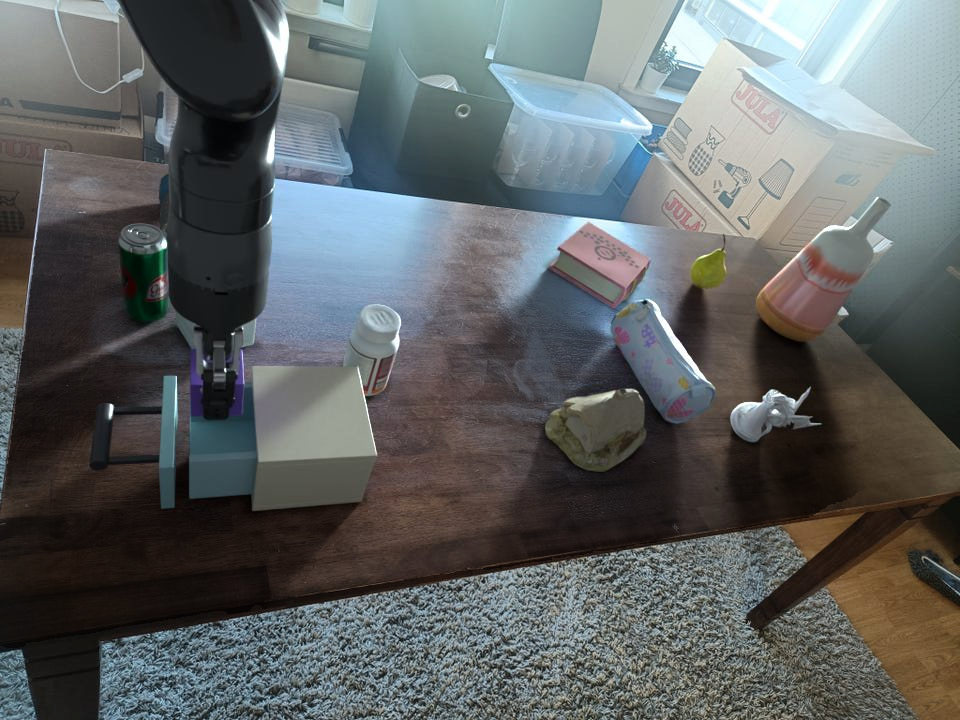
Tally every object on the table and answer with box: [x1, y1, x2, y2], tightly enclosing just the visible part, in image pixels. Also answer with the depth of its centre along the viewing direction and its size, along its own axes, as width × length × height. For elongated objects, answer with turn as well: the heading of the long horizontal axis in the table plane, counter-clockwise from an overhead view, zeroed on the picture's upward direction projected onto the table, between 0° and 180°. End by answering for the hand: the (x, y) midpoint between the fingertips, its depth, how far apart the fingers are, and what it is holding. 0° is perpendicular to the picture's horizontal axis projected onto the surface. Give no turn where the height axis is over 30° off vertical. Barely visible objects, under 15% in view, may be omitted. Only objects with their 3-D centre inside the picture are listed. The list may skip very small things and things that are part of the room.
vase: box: [755, 196, 892, 343], centre depth 120 cm, size 14×14×30 cm
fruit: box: [689, 233, 727, 290], centre depth 127 cm, size 7×7×12 cm
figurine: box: [729, 386, 821, 443], centre depth 96 cm, size 11×8×12 cm
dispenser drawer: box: [89, 375, 257, 510], centre depth 64 cm, size 16×11×7 cm
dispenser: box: [249, 365, 378, 512], centre depth 69 cm, size 12×13×9 cm
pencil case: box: [609, 298, 717, 425], centre depth 100 cm, size 21×9×10 cm, turn 16°
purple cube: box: [189, 348, 245, 417], centre depth 59 cm, size 4×4×4 cm
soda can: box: [117, 222, 170, 323], centre depth 76 cm, size 5×5×12 cm
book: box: [547, 221, 652, 310], centre depth 119 cm, size 14×15×5 cm
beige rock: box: [544, 387, 647, 473], centre depth 86 cm, size 14×11×10 cm
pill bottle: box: [342, 303, 402, 397], centre depth 80 cm, size 6×6×11 cm
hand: (215, 396), depth 61 cm, fingers closed on purple cube, 4 cm apart
